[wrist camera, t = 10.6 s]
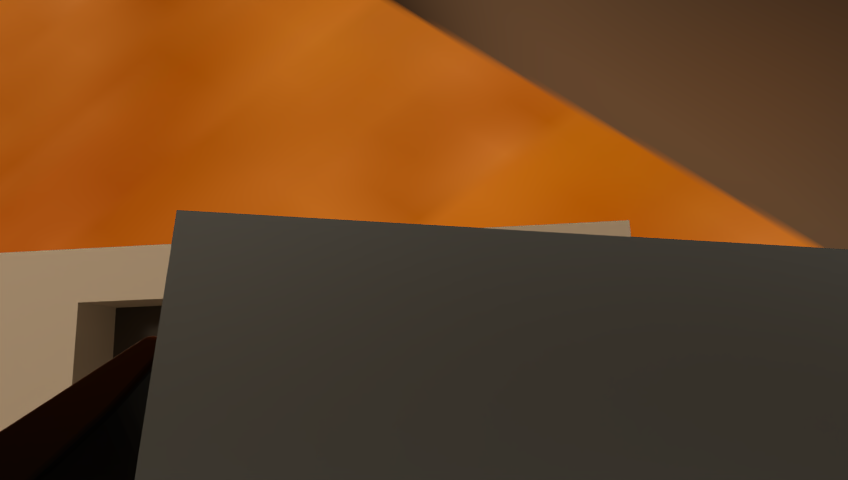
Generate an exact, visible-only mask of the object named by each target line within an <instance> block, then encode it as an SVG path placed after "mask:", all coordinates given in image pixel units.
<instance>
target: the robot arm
mask: <svg viewBox="0 0 848 480" xmlns="http://www.w3.org/2000/svg"><path fill="white" fill-rule="evenodd" d="M156 340H157V336H148V337H146V338H144V339H142V340H140V341H139V342H137V343H136V344H134V345H133V346H131V347H130V348H128V349H127V350H125V351H124V352H122V353H120V354H119V355H117V356H116V357H114V358H113V359H111V360H110V361H108V362H107V363H105V364H103V365H102V366H100V367H99V368H97V369H96V370H94V371H93V372H91V373H90V374H88V375H87V376H85V377H83V378H82V379H80V380H79V381H77V382H76V383H74V384H73V385H71V386H70V387H68V388H66V389H65V390H63V391H62V392H60V393H59V394H57V395H56V396H54V397H53V398H51V399H50V400H48V401H46V402H45V403H43V404H42V405H40V406H39V407H37V408H36V409H34V410H33V411H31V412H29V413H28V414H26V415H25V416H23V417H22V418H20V419H19V420H17V421H16V422H14V423H13V424H11V425H9V426H8V427H6V428H5V429H3V430H2V431H0V480H135V474H136V467H137V461H138V454H139V448H140V442H141V435H142V429H143V423H144V416H145V410H146V404H147V397H148V391H149V384H150V378H151V372H152V365H153V359H154V353H155V346H156Z"/></svg>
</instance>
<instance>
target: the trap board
mask: <svg viewBox="0 0 848 480" xmlns="http://www.w3.org/2000/svg"><path fill="white" fill-rule="evenodd" d="M489 229H506V230H523V231H540V232H557V233H574V234H591V235H608V236H626V237H631V233H630V224H629V220H627V221H608V222H589V223H569V224H550V225H531V226H511V227H492V228H489ZM170 251H171V244H164V245H145V246H126V247H106V248H87V249H68V250H49V251H29V252H10V253H0V431H2V430H3V429H5V428H6V427H8V426H9V425H11V424H13V423H14V422H16V421H17V420H19V419H20V418H22V417H23V416H25V415H26V414H28V413H29V412H31V411H33V410H34V409H36V408H37V407H39V406H40V405H42V404H43V403H45V402H46V401H48V400H50V399H51V398H53V397H54V396H56V395H57V394H59V393H60V392H62V391H63V390H65V389H66V388H68V387H70V386H71V385H73V384H74V383H76V382H77V381H79V380H80V379H82V378H83V377H85V376H87V375H88V374H90V373H91V372H93V371H94V370H96V369H97V368H99V367H100V366H102V365H103V364H105V363H107V362H108V361H110V360H111V359H113V358H114V357H116V356H117V355H119V354H120V353H122V352H124V351H125V350H127V349H128V348H130V347H131V346H133V345H134V344H136V343H137V342H139V341H140V340H142V339H144V338H146V337H148V336H157V334H158V327H159V321H160V314H161V308H162V302H163V295H164V289H165V283H166V276H167V270H168V264H169V257H170Z"/></svg>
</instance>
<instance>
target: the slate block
mask: <svg viewBox="0 0 848 480" xmlns="http://www.w3.org/2000/svg"><path fill="white" fill-rule="evenodd" d="M135 480H848V250H847V249H846V250H845V249H830V248H813V247H796V246H779V245H762V244H745V243H728V242H711V241H694V240H677V239H660V238H643V237H626V236H608V235H591V234H574V233H557V232H540V231H523V230H506V229H489V228H472V227H455V226H438V225H421V224H404V223H387V222H370V221H352V220H335V219H318V218H301V217H284V216H267V215H250V214H233V213H216V212H199V211H182V210H177V213H176V219H175V225H174V232H173V238H172V244H171V251H170V257H169V264H168V270H167V276H166V283H165V289H164V295H163V302H162V308H161V314H160V321H159V327H158V334H157V340H156V346H155V353H154V359H153V365H152V372H151V378H150V384H149V391H148V397H147V404H146V410H145V416H144V423H143V429H142V435H141V442H140V448H139V454H138V461H137V467H136V474H135Z"/></svg>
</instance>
